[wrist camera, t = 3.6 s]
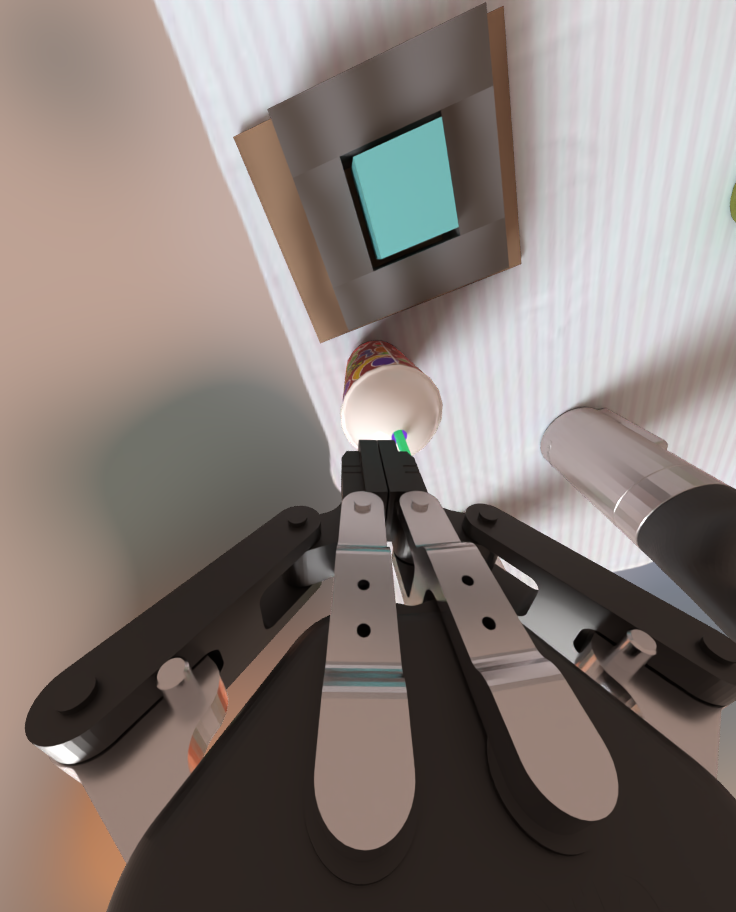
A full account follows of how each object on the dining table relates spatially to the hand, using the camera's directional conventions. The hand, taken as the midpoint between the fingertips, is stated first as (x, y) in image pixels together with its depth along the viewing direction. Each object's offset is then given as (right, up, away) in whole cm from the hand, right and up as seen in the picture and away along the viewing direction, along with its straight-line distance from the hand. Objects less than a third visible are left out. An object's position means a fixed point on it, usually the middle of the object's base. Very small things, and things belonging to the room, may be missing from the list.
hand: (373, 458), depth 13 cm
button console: (+2, +23, +16) cm, 28 cm away
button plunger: (+2, +21, +13) cm, 25 cm away
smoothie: (+1, +11, +24) cm, 26 cm away
